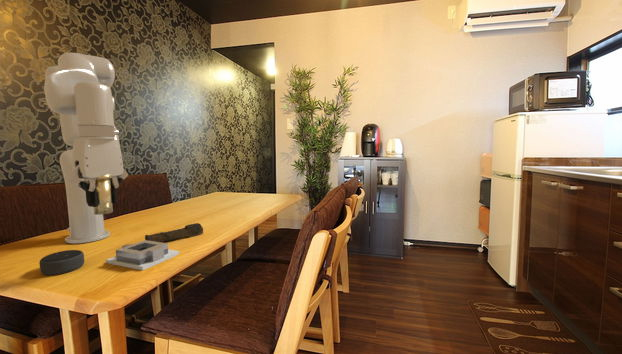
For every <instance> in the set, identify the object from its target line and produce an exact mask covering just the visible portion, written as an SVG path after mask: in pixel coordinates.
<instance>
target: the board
mask: <svg viewBox="0 0 622 354" xmlns="http://www.w3.org/2000/svg"><path fill="white" fill-rule="evenodd" d="M178 254H179V255H180V250H174V249H169V248H168V254H166V255H164V258H162V259H159V260H157V261H155V262H150V261H149V262H147V263H144V264H142V265H136V264H131V263H126V262H121V261H117V260H116V255H115V256H112V257H110V258H107V259H106V260H105V263H106V264H108V265H114V266H119V267H124V268H129V269H135V270H139V271H145V270H146V269H149V268H152V267H154V266H156V265H158V264H161V263H163V262H165V261H168V260H170V259H172V258H174V257H176V255H177V256H178Z"/></svg>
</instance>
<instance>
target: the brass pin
mask: <svg viewBox="0 0 622 354" xmlns="http://www.w3.org/2000/svg"><path fill="white" fill-rule="evenodd" d="M110 178H112V177H111V175H100V177H99V178H97V179H96V182H95V191H97V193H98V207H93V209H94V214H95V215H101V214H103V215H108V214H112V213H113V211H114V210H113V209H114V208H113V203H112V195H111V183H110Z"/></svg>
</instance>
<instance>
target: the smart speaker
mask: <svg viewBox="0 0 622 354" xmlns="http://www.w3.org/2000/svg"><path fill="white" fill-rule="evenodd" d="M38 263H39V271H40V273H41V274H42V275H45V276H55V275H62V274H66V273H70V272H73V271H75V270H78V269H80V268H81V267H83V265H84V264H85V253H84V252H83V251H82V250H79V249H68V250H60V251H57V252H53V253H49V254H47V255H45V256H43V257H42V258H41V259H39V262H38Z"/></svg>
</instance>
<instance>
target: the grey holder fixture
mask: <svg viewBox="0 0 622 354" xmlns="http://www.w3.org/2000/svg"><path fill="white" fill-rule="evenodd" d="M168 249H169V245H168V243H167V242H162V243H161V242H155V241H148V240H145V239H144V240H141V241H139V242H135V243H132V244H131V243H129V244H124V245H122V246H121V248H118V249H115V256H116V260H117V261H121V262H126V263H131V264H136V265H142V264H144V263H147V262H149V261H150V262H155V261H157V260H159V259H162V258H164V255H166V254H168Z"/></svg>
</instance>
